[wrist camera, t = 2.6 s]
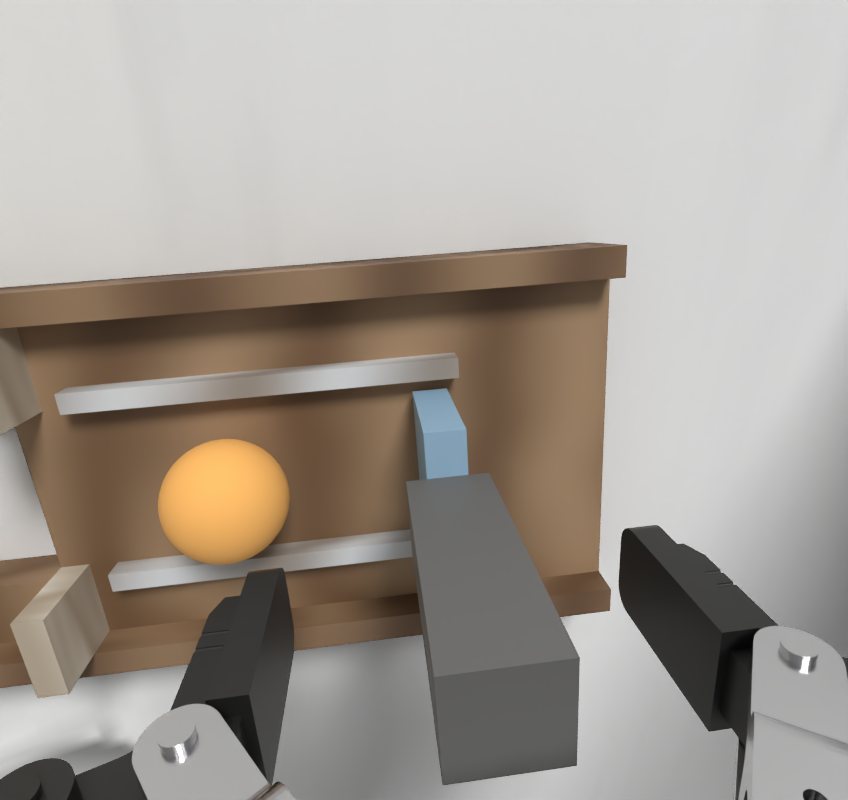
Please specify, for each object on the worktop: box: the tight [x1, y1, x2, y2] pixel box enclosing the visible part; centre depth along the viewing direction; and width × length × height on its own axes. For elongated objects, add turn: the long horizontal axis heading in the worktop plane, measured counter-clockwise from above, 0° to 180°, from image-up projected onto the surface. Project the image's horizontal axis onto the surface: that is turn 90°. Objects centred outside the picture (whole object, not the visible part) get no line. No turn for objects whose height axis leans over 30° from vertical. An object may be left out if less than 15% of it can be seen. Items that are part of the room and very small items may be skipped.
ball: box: [158, 439, 290, 565], centre depth 18 cm, size 4×4×4 cm
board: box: [0, 243, 627, 698], centre depth 19 cm, size 27×14×5 cm, turn 94°
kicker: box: [406, 388, 580, 785], centre depth 14 cm, size 2×5×11 cm, turn 4°
